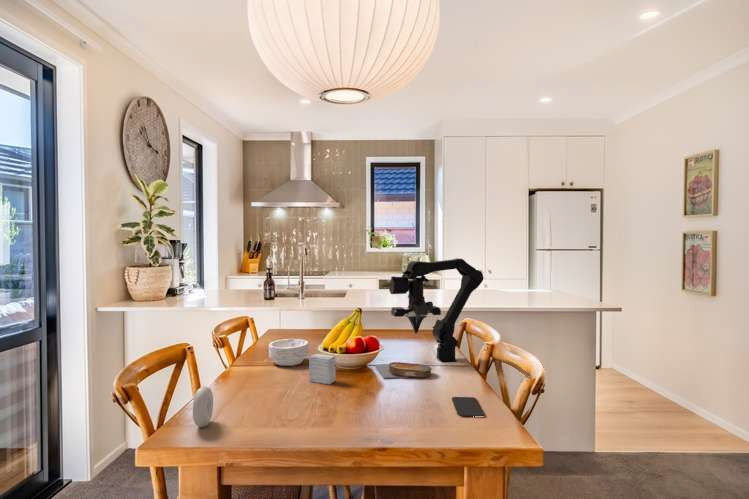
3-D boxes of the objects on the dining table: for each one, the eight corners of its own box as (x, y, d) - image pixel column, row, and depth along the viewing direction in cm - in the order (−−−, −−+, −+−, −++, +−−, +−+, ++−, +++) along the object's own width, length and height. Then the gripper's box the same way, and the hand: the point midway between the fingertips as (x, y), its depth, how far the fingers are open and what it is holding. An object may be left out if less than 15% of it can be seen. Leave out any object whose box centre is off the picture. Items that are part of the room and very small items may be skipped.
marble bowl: (260, 365, 173) (260, 345, 173) (283, 356, 187) (283, 337, 187) (295, 370, 167) (295, 349, 167) (315, 360, 181) (315, 340, 181)
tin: (430, 365, 167) (432, 370, 158) (429, 374, 166) (431, 379, 158) (389, 361, 167) (389, 365, 159) (388, 369, 167) (388, 374, 159)
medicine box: (335, 381, 155) (335, 356, 155) (329, 385, 151) (329, 359, 151) (315, 378, 158) (315, 353, 158) (308, 381, 154) (308, 356, 154)
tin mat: (397, 365, 175) (397, 363, 175) (408, 377, 159) (408, 376, 159) (374, 366, 173) (374, 364, 173) (383, 379, 158) (383, 377, 158)
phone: (475, 397, 140) (485, 415, 125) (475, 399, 140) (485, 418, 125) (451, 396, 140) (458, 415, 125) (451, 399, 140) (458, 418, 125)
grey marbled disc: (201, 418, 123) (201, 381, 123) (214, 417, 123) (214, 380, 123) (190, 434, 113) (190, 394, 113) (205, 433, 113) (205, 393, 113)
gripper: (399, 296, 168) (398, 338, 169) (446, 295, 173) (446, 336, 173) (390, 293, 179) (390, 332, 180) (435, 291, 184) (435, 330, 184)
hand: (415, 333), depth 179 cm, fingers closed
